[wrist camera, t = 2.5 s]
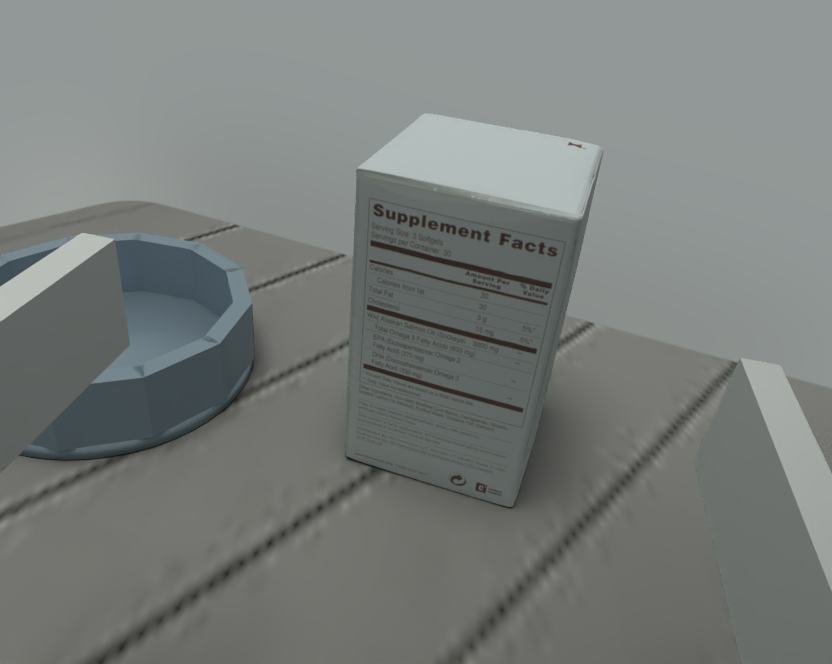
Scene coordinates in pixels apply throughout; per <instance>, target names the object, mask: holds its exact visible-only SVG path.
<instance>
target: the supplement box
mask: <svg viewBox="0 0 832 664" xmlns="http://www.w3.org/2000/svg"><path fill="white" fill-rule="evenodd" d="M602 155H603V148H601V147H599V146H596V145H593V144H589V143H586V142H581V141H577V140H573V139H568V138H563V137H557V136H552V135H546V134H541V133H536V132H530V131H524V130H519V129H513V128H508V127H502V126H496V125H490V124H485V123H479V122H474V121H468V120H463V119H458V118H453V117H447V116H441V115H435V114H423V115H421V116H420V117H419V118H418V119H417V120H416V121H415V122H413V123H412V124H411V125H410V126H409V127H407V128H406V129H405V130H404V131H402V132H401V133H400V134H399V135H397V136H396V137H395V138H394V139H393V140H391V141H390V142H389V143H388V144H387V145H385V146H384V147H383V148H382V149H381V150H379V151H378V152H377V153H375V154H374V155H373V156H372V157H370V158H369V159H368V160H367V161H365V162H364V163H363V164H361V165H360V166H359V167H358V168H357V170H356V171H357V180H356V205H355V228H354V254H353V271H352V291H351V312H350V337H349V361H348V386H347V413H346V441H345V454H346V456H348V457H350V458H352V459H354V460H357V461H361V462H363V463H366V464H369V465H372V466H375V467H378V468H382V469H385V470H388V471H391V472H394V473H397V474H401V475H404V476H407V477H410V478H414V479H417V480H420V481H423V482H426V483H429V484H433V485H436V486H439V487H443V488H446V489H449V490H452V491H455V492H459V493H462V494H465V495H468V496H472V497H475V498H478V499H482V500H485V501H488V502H492V503H495V504H499V505H502V506H506V507H513V506H514V503H515V501H516V498H517V495H518V492H519V489H520V486H521V482H522V479H523V476H524V473H525V470H526V467H527V463H528V460H529V457H530V453H531V450H532V447H533V443H534V440H535V436H536V432H537V428H538V424H539V420H540V416H541V412H542V408H543V404H544V400H545V396H546V392H547V387H548V383H549V379H550V375H551V371H552V367H553V363H554V359H555V355H556V351H557V347H558V343H559V339H560V334H561V330H562V326H563V322H564V318H565V314H566V310H567V306H568V302H569V297H570V294H571V289H572V285H573V281H574V277H575V273H576V269H577V265H578V260H579V256H580V251H581V247H582V243H583V238H584V234H585V230H586V225H587V221H588V216H589V212H590V207H591V203H592V198H593V194H594V189H595V185H596V181H597V176H598V172H599V168H600V164H601V159H602Z"/></svg>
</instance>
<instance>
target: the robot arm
mask: <svg viewBox="0 0 832 664" xmlns="http://www.w3.org/2000/svg"><path fill="white" fill-rule="evenodd" d="M129 346H130V341H129V334H128V327H127V320H126V313H125V306H124V299H123V292H122V285H121V278H120V271H119V264H118V257H117V250H116V243H115V239H112V238H107V237H101V236H96V235H91V234H86V233H81V234H79V235H78V236H76V237H75V238H73V239H72V240H70V241H69V242H67V243H66V244H64V245H63V246H61V247H60V248H58V249H57V250H55V251H53V252H52V253H50V254H49V255H47V256H46V257H44V258H43V259H41V260H40V261H38V262H37V263H35V264H34V265H32V266H31V267H29V268H28V269H26V270H25V271H23V272H22V273H20V274H19V275H17V276H16V277H14V278H13V279H11V280H9V281H8V282H6V283H5V284H3V285H2V286H0V473H1V472H2V471H3V470H4V469H5V468H6V467H7V466H8V465H9V464H10V463H11V462H12V461H13V460H14V459H15V458H16V457H17V456H18V455H19V454H20V453H21V452H22V451H23V450H24V449H25V448H26V447H27V446H28V445H29V444H30V443H31V442H32V441H33V440H34V439H35V438H36V437H37V436H39V435H40V434H41V433H42V432H43V431H44V430H45V429H46V428H47V427H48V426H49V425H50V424H51V423H52V422H53V421H54V420H55V419H56V418H57V417H58V416H59V415H60V414H61V413H62V412H63V411H64V410H65V409H66V408H67V407H68V406H69V405H70V404H71V403H72V402H73V401H74V400H75V399H76V398H77V397H78V396H79V395H80V394H81V393H82V392H83V391H84V390H85V389H86V388H87V387H88V386H89V385H90V384H91V383H92V382H93V381H94V380H95V379H96V378H97V377H98V376H99V375H100V374H101V373H102V372H103V371H104V370H105V369H106V368H107V367H108V366H109V365H110V364H111V363H112V362H113V361H114V360H115V359H116V358H117V357H118V356H119V355H120V354H121V353H122V352H123V351H124V350H125V349H126V348H128V347H129ZM694 463H695V468H696V472H697V476H698V481H699V485H700V489H701V493H702V498H703V502H704V506H705V511H706V515H707V519H708V524H709V528H710V532H711V536H712V541H713V545H714V549H715V554H716V558H717V562H718V567H719V571H720V575H721V579H722V584H723V588H724V592H725V597H726V601H727V605H728V610H729V614H730V618H731V622H732V627H733V631H734V635H735V640H736V644H737V648H738V653H739V657H740V661H741V664H832V473H831V471H830V469H829V467H828V465H827V463H826V460H825V458H824V456H823V454H822V452H821V450H820V448H819V446H818V444H817V441H816V439H815V437H814V435H813V433H812V431H811V429H810V427H809V425H808V422H807V420H806V418H805V416H804V414H803V412H802V410H801V408H800V406H799V403H798V401H797V399H796V397H795V395H794V393H793V391H792V389H791V387H790V384H789V382H788V380H787V378H786V376H785V374H784V372H783V370H782V368H781V366H780V365H775V364H770V363H765V362H760V361H754V360H749V359H744V358H740V359H739V362H738V364H737V366H736V368H735V371H734V373H733V375H732V377H731V380H730V382H729V384H728V386H727V388H726V391H725V393H724V395H723V397H722V400H721V402H720V404H719V406H718V409H717V411H716V413H715V415H714V417H713V420H712V422H711V424H710V426H709V429H708V431H707V433H706V435H705V438H704V440H703V442H702V444H701V446H700V449H699V451H698V453H697V455H696V458H695V460H694Z"/></svg>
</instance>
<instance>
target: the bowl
mask: <svg viewBox="0 0 832 664" xmlns="http://www.w3.org/2000/svg"><path fill="white" fill-rule="evenodd" d="M96 236H101V237H107V238H112V239H115V243H116V250H117V257H118V264H119V271H120V278H121V285H122V292H123V299H124V306H125V313H126V320H127V327H128V334H129V341H130V346H129V347H128V348H126V349H125V350H124V351H123V352H122V353H121V354H120V355H119V356H118V357H117V358H116V359H115V360H114V361H113V362H112V363H111V364H110V365H109V366H108V367H107V368H106V369H105V370H104V371H103V372H102V373H101V374H100V375H99V376H98V377H97V378H96V379H95V380H94V381H93V382H92V383H91V384H90V385H89V386H88V387H87V388H86V389H85V390H84V391H83V392H82V393H81V394H80V395H79V396H78V397H77V398H76V399H75V400H74V401H73V402H72V403H71V404H70V405H69V406H68V407H67V408H66V409H65V410H64V411H63V412H62V413H61V414H60V415H59V416H58V417H57V418H56V419H55V420H54V421H53V422H52V423H51V424H50V425H49V426H48V427H47V428H46V429H45V430H44V431H43V432H42V433H41V434H40V435H39V436H37V437H36V438H35V439H34V440H33V441H32V442H31V443H30V444H29V445H28V446H27V447H26V448H25V449H24V450H23V451H22V452H21V453H20V454H19V455H23V456H29V457H35V458H41V459H56V460H81V459H94V458H103V457H111V456H116V455H122V454H127V453H132V452H136V451H139V450H143V449H147V448H150V447H154V446H157V445H159V444H162V443H165V442H167V441H170V440H173V439H175V438H177V437H180V436H182V435H184V434H186V433H188V432H190V431H192V430H194V429H196V428H198V427H199V426H201V425H203V424H204V423H206V422H208V421H209V420H211V419H212V418H213V417H215V416H216V415H217V414H219V413H220V412H221V411H223V410H224V409H225V408H226V407H227V406H228V405H229V404H230V403H231V402H232V401H233V400H234V399H235V398H236V397H237V396H238V394H239V393H240V392H241V391H242V389H243V388H244V386H245V384H246V382H247V381H248V379H249V376H250V373H251V370H252V367H253V359H254V357H255V354H254V332H253V311H252V301H251V297H250V294H249V290H248V286H247V283H246V279H245V275H244V271H243V268H242V267H240V266H239V265H237V264H235V263H234V262H232V261H230V260H229V259H227V258H225V257H224V256H222V255H220V254H219V253H217V252H215V251H214V250H212V249H210V248H209V247H207V246H205V245H204V244H202V243H197V242H191V241H185V240H180V239H174V238H168V237H163V236H157V235H151V234H145V233H124V234H106V235H96ZM75 237H76V236H70V237H65V238H61V239H58V240H54V241H50V242H47V243H43V244H39V245H36V246H32V247H28V248H25V249H21V250H17V251H14V252H10V253H6V254H3V255H0V286H2V285H3V284H5V283H6V282H8V281H9V280H11V279H13V278H14V277H16V276H17V275H19V274H20V273H22V272H23V271H25V270H26V269H28V268H29V267H31V266H32V265H34V264H35V263H37V262H38V261H40V260H41V259H43V258H44V257H46V256H47V255H49V254H50V253H52V252H53V251H55V250H57V249H58V248H60V247H61V246H63V245H64V244H66V243H67V242H69V241H70V240H72V239H73V238H75Z"/></svg>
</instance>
